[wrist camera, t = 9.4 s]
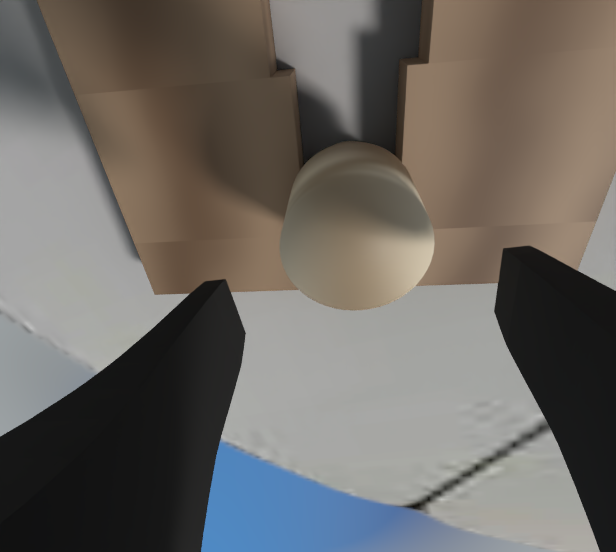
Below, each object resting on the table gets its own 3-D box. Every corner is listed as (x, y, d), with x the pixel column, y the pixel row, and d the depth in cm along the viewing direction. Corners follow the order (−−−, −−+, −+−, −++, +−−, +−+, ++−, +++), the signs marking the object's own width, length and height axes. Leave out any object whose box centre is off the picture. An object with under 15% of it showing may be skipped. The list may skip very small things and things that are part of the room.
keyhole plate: (775, -410, 9) (877, -506, 7) (552, 256, 19) (573, 280, 17) (-21, -257, 11) (-86, -305, 9) (168, 272, 21) (154, 294, 19)
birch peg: (402, 113, 16) (437, 167, 10) (403, 218, 18) (432, 304, 13) (287, 129, 16) (264, 189, 11) (305, 228, 19) (294, 315, 14)
